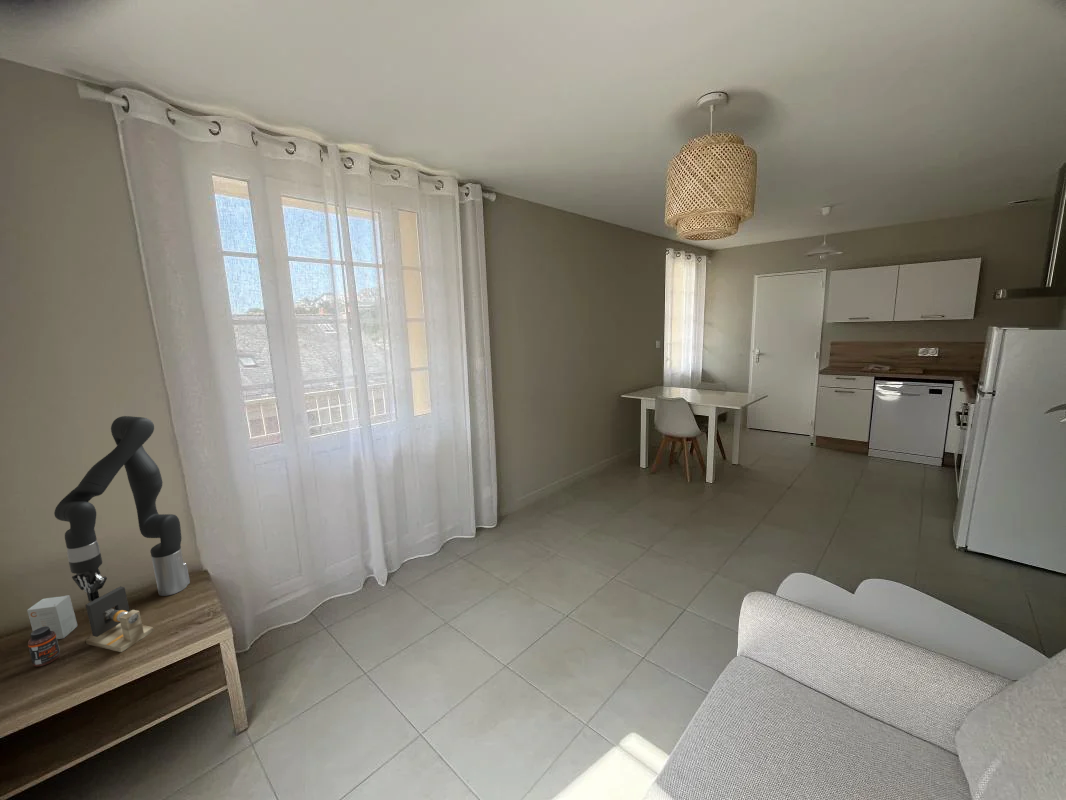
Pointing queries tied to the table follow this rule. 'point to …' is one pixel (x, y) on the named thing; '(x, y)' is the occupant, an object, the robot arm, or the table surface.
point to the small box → (53, 615)
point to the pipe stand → (121, 631)
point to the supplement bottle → (43, 646)
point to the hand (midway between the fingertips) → (94, 600)
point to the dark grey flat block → (103, 604)
